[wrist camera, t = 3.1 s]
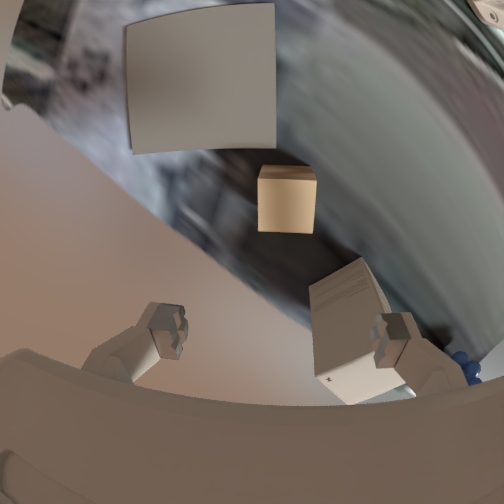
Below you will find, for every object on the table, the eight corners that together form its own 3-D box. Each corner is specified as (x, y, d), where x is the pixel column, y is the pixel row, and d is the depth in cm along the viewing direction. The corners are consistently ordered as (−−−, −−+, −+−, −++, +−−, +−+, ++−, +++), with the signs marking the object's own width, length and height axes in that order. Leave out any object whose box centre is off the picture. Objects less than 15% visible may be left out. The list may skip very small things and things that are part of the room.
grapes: (458, 324, 32) (487, 385, 22) (469, 340, 34) (493, 395, 24) (401, 365, 38) (416, 427, 27) (417, 377, 39) (431, 433, 29)
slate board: (274, 6, 17) (274, 3, 16) (276, 146, 24) (275, 148, 23) (131, 27, 18) (126, 26, 18) (137, 152, 25) (132, 154, 25)
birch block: (311, 166, 25) (316, 180, 20) (308, 210, 27) (312, 233, 23) (262, 164, 25) (257, 178, 21) (262, 208, 27) (258, 231, 23)
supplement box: (335, 322, 34) (346, 408, 23) (306, 284, 31) (311, 377, 21) (386, 296, 31) (415, 380, 20) (363, 253, 28) (396, 341, 18)
